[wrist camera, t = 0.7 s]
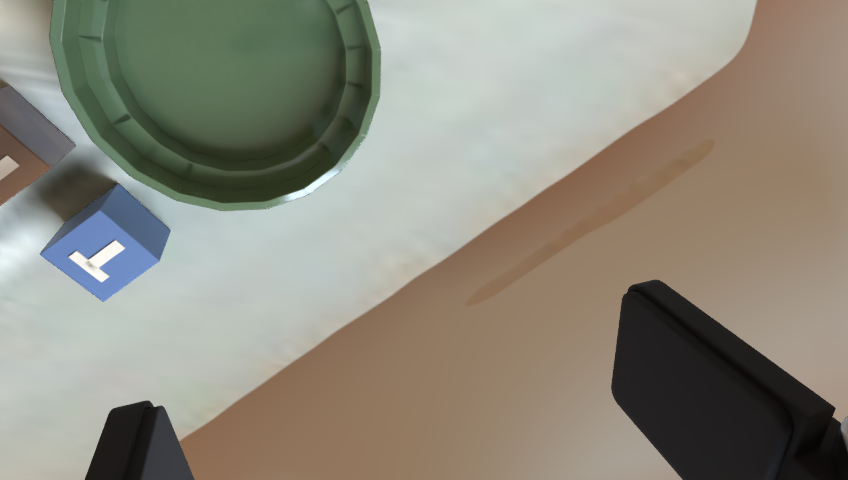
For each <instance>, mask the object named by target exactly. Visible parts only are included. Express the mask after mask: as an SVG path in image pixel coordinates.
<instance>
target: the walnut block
mask: <svg viewBox="0 0 848 480" xmlns="http://www.w3.org/2000/svg"><path fill="white" fill-rule="evenodd" d="M75 146H76V145H75V144H74V143H73V142H72V141H70V140H69V139H68V138H67V137H66V136H65V135H64V134H63V133H62V132H61V131H59V130H58V129H57V128H56V127H55V126H54V125H53V124H52V123H51V122H49V121H48V120H47V119H46V118H45V117H44V116H43V115H42V114H41V113H39V112H38V111H37V110H36V109H35V108H34V107H33V106H32V105H31V104H30V103H28V102H27V101H26V100H25V99H24V98H23V97H22V96H21V95H20V94H18V93H17V92H16V91H15V90H14V89H13V88H12V87H11V86H6V87H4V88H1V89H0V206H1V205H3V204H4V203H5V202H7V201H8V200H9V199H11V198H12V197H13V196H15V195H16V194H17V193H19V192H20V191H21V190H23V189H24V188H25V187H27V186H28V185H29V184H31V183H32V182H33V181H35V180H36V179H37V178H39V177H40V176H41V175H43V174H44V173H45V172H47V171H48V170H49V169H51V168H52V167H53V166H54V165H55V164H56V163H57V162H59V161H60V160H61V159H62V158H63V157H64V156H65V155H66V154H68V153H69V152H70V151H71V150H72V149H73V148H74V147H75Z"/></svg>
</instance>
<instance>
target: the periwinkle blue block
mask: <svg viewBox="0 0 848 480" xmlns="http://www.w3.org/2000/svg"><path fill="white" fill-rule="evenodd" d="M169 234H170V230H169V229H168V228H167V227H166V226H165V225H164V224H163V223H162V222H160V221H159V220H158V219H157V218H156V217H155V216H154V215H153V214H152V213H150V212H149V211H148V210H147V209H146V208H145V207H144V206H143V205H142V204H140V203H139V202H138V201H137V200H136V199H135V198H134V197H133V196H132V195H131V194H129V193H128V192H127V191H126V190H125V189H124V188H123V187H122V186H121V185H119V184H116V185H115V186H114V187H112V188H111V189H110V190H108V191H107V192H106V193H104V194H103V195H102V196H100V197H99V198H98V199H96V200H95V201H94V202H92V203H91V204H89V205H88V206H87V207H85V208H84V209H83V210H81V211H80V212H79V213H77V214H76V215H75V216H73V217H72V218H71V219H69V220H68V221H67V222H65V223H64V224H63V226H62V227H61V228H60V229H59V231H58V232H57V233H56V234H55V235H54V237H53V238H52V239H51V240H50V242H49V243H48V244H47V245H46V246H45V248H44V249H43V250H42V251H41V253H40V255H41V256H42V257H44V258H45V259H46V260H48V261H49V262H50V263H52V264H53V265H54V266H56V267H57V268H58V269H60V270H61V271H63V272H64V273H65V274H67V275H68V276H69V277H71V278H72V279H73V280H75V281H76V282H77V283H79V284H80V285H81V286H83V287H84V288H85V289H87V290H88V291H89V292H91V293H92V294H93V295H95V296H96V297H97V298H99V299H100V300H101V301H103V302H104V301H105V300H107V299H108V298H110V297H111V296H112V295H114V294H115V293H116V292H118V291H119V290H120V289H122V288H123V287H125V286H126V285H127V284H129V283H130V282H131V281H133V280H134V279H136V278H137V277H138V276H140V275H141V274H142V273H144V272H145V271H146V270H148V269H149V268H151V267H152V266H153V265H155V264H156V263H157V262H159V261H160V258H161V255H162V253H163V250H164V247H165V245H166V242H167V239H168V237H169Z"/></svg>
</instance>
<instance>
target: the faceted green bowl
mask: <svg viewBox="0 0 848 480" xmlns="http://www.w3.org/2000/svg"><path fill="white" fill-rule="evenodd" d="M49 41H50V45H51V49H52V53H53V57H54V61H55V65H56V69H57V73H58V77H59V82H60V86H61V90H62V92H63V95H64V96H65V98H66V100H67V101H68V103H69V105H70V106H71V108H72V110H73V111H74V113H75V114H76V116H77V118H78V119H79V121H80V123H81V124H82V126H83V128H84V129H85V131H86V133H87V134H88V136H89V138H90V139H91V140H92V142H94V143H95V144H96V145H97V146H98V147H99V148H100V149H101V150H102V151H103V152H104V153H105V154H106V155H108V156H109V157H110V158H111V159H112V160H113V161H114V162H115V163H116V164H117V165H118V166H119V167H121V168H122V169H123V170H124V171H125V172H126V173H127V174H128V175H129V176H131V177H132V178H134V179H136V180H138V181H139V182H141V183H143V184H145V185H147V186H149V187H151V188H153V189H155V190H157V191H159V192H160V193H162V194H164V195H166V196H168V197H170V198H172V199H174V200H176V201H179V202H184V203H188V204H193V205H197V206H202V207H206V208H210V209H215V210H219V211H236V210H257V209H267V208H268V209H269V208H272V207H275V206H278V205H280V204H283V203H286V202H289V201H292V200H295V199H298V198H301V197H304V196H307V194H308V195H309V194H310V193H311V192H313V191H314V190H316V189H317V188H318V187H320V186H321V185H322V184H324V183H325V182H327V181H328V180H329V179H331V178H332V177H333V176H335V175H336V174H338V173H339V172H340V171H341V170H342V169H343V168H344V167H345V165H346V164H347V162H348V161H349V160H350V158H351V157H352V156H353V154H354V153H355V152H356V150H357V149H358V148H359V146H360V145H361V143H362V142H363V141H364V139H365V138H366V136H367V133H368V130H369V127H370V124H371V121H372V118H373V115H374V112H375V109H376V107H377V104H378V101H379V98H380V76H381V47H380V44H379V40H378V37H377V33H376V29H375V26H374V22H373V18H372V15H371V11H370V8H369V4H368V2H367V0H53V5H52V14H51V23H50V32H49Z"/></svg>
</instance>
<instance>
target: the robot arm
mask: <svg viewBox="0 0 848 480" xmlns="http://www.w3.org/2000/svg"><path fill="white" fill-rule="evenodd" d="M611 389H612V393H613V396H614V399H615V401H616V402H617V404H618V405H619V406H620V407H621V408H622V410H623V411H624V412H625V413H626V414H627V415H628V416H629V418H630V419H631V420H632V421H633V422H634V424H635V425H636V426H637V427H638V428H639V429H640V430H641V432H642V433H643V434H644V435H645V436H646V437H647V439H648V440H649V441H650V442H651V443H652V444H653V446H654V447H655V448H656V449H657V450H658V451H659V453H660V454H661V455H662V456H663V457H664V458H665V460H666V461H667V462H668V463H669V464H670V465H671V467H672V468H673V469H674V470H675V471H676V472H677V474H678V475H679V476H680V477H681V478H682V479H683V480H848V416H847V417H846V418H845V419H844V421H843V422H842V424H841V423H840V422H839V421H837V420H836V419H835V418H833V417H832V416H833V414H834V411H835V407H834V406H832V405H831V404H829V403H828V402H827V401H825V400H824V399H823V398H821V397H820V396H819V395H817V394H816V393H814V392H813V391H812V390H810V389H809V388H808V387H806V386H805V385H803V384H802V383H800V382H799V381H798V380H796V379H795V378H794V377H792V376H791V375H790V374H788V373H787V372H786V371H784V370H783V369H781V368H780V367H779V366H777V365H776V364H775V363H773V362H772V361H770V360H769V359H768V358H766V357H765V356H764V355H762V354H761V353H759V352H758V351H757V350H755V349H754V348H752V347H751V346H750V345H748V344H747V343H746V342H744V341H743V340H741V339H740V338H739V337H737V336H736V335H735V334H733V333H732V332H731V331H729V330H728V329H726V328H725V327H724V326H722V325H721V324H720V323H718V322H717V321H715V320H714V319H713V318H711V317H710V316H708V315H707V314H706V313H704V312H703V311H702V310H700V309H699V308H698V307H696V306H695V305H693V304H692V303H691V302H689V301H688V300H687V299H685V298H684V297H682V296H681V295H680V294H678V293H677V292H676V291H674V290H673V289H671V288H670V287H669V286H667V285H666V284H665V283H663V282H661V281H660V280H651V281H647V282H643V283H639V284H635V285H632V286H630V287H629V289H628V292H627V293H626V294H624V296H623V298H622V305H621V312H620V320H619V329H618V337H617V345H616V353H615V361H614V369H613V378H612V386H611ZM85 480H194V477H193V475H192V473H191V470H190V468H189V465H188V463H187V460H186V458H185V456H184V453H183V451H182V448H181V446H180V444H179V441H178V439H177V436H176V434H175V432H174V429H173V427H172V424H171V422H170V420H169V417H168V415H167V412H166V410H165V408H164V407H163V406H157V407H154V406H153V405H152V403H151V402H150V401H142V402H138V403H134V404H130V405H126V406H121V407H117V408H113V409H112V410H111V411H110V413H109V415H108V417H107V420H106V423H105V426H104V428H103V431H102V434H101V437H100V439H99V442H98V445H97V448H96V450H95V453H94V456H93V459H92V461H91V464H90V467H89V470H88V472H87V475H86V478H85Z"/></svg>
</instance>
